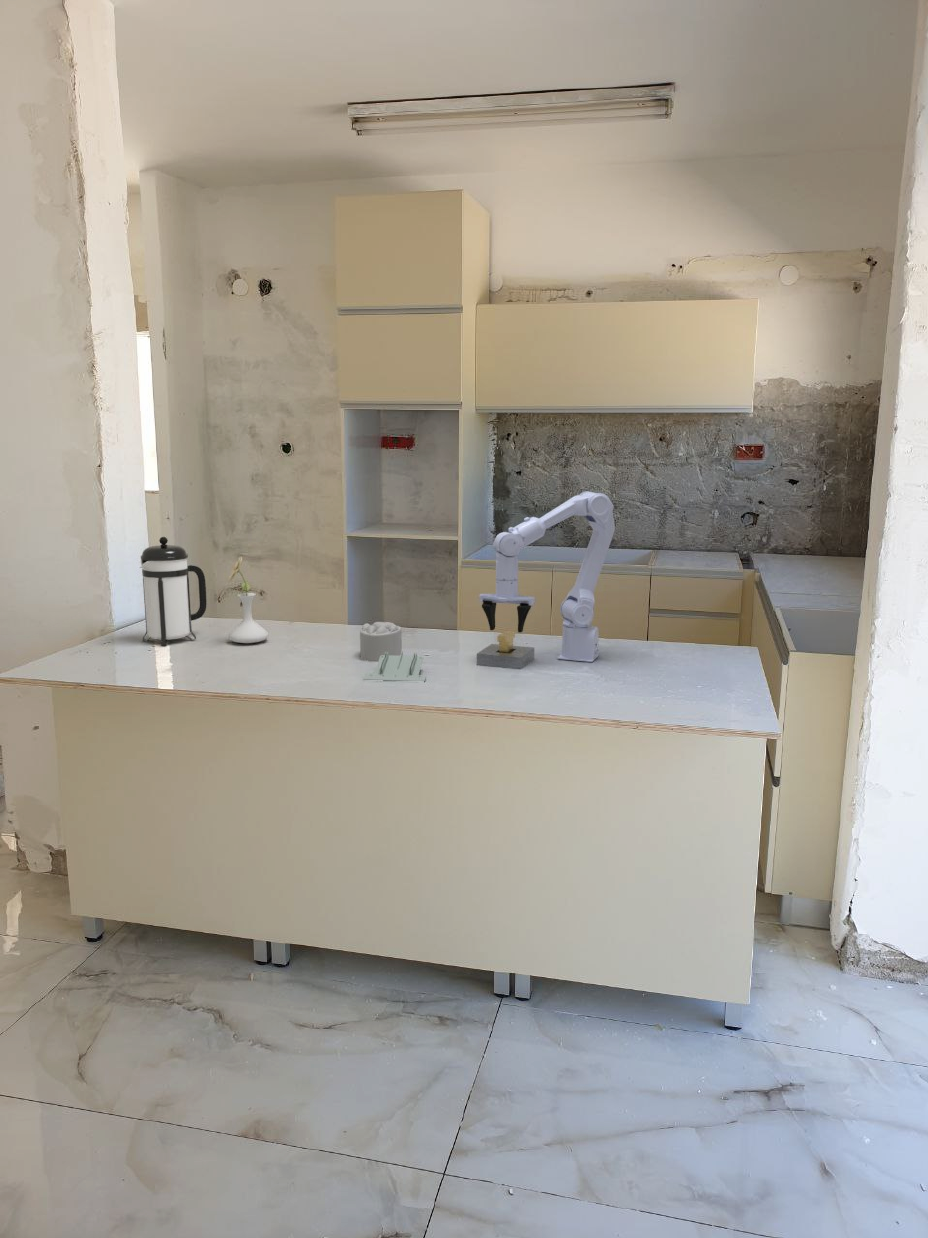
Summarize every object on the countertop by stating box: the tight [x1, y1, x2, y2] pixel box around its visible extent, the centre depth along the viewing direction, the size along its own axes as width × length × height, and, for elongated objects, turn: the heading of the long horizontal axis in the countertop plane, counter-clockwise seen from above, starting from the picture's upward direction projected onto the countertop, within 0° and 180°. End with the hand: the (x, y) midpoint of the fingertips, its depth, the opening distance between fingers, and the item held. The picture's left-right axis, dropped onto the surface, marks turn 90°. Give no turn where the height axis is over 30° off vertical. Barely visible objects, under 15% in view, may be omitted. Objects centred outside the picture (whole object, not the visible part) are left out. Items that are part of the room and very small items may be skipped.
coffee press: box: [138, 536, 207, 647], centre depth 265 cm, size 17×16×30 cm
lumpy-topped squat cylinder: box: [359, 621, 403, 662], centre depth 249 cm, size 10×13×9 cm
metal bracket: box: [363, 650, 427, 682], centre depth 230 cm, size 14×6×15 cm
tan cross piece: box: [496, 630, 516, 653], centre depth 243 cm, size 2×7×8 cm, turn 158°
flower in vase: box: [227, 556, 269, 644], centre depth 263 cm, size 13×11×25 cm
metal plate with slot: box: [476, 643, 535, 670], centre depth 243 cm, size 12×12×3 cm
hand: (506, 630), depth 242 cm, fingers open, 7 cm apart
